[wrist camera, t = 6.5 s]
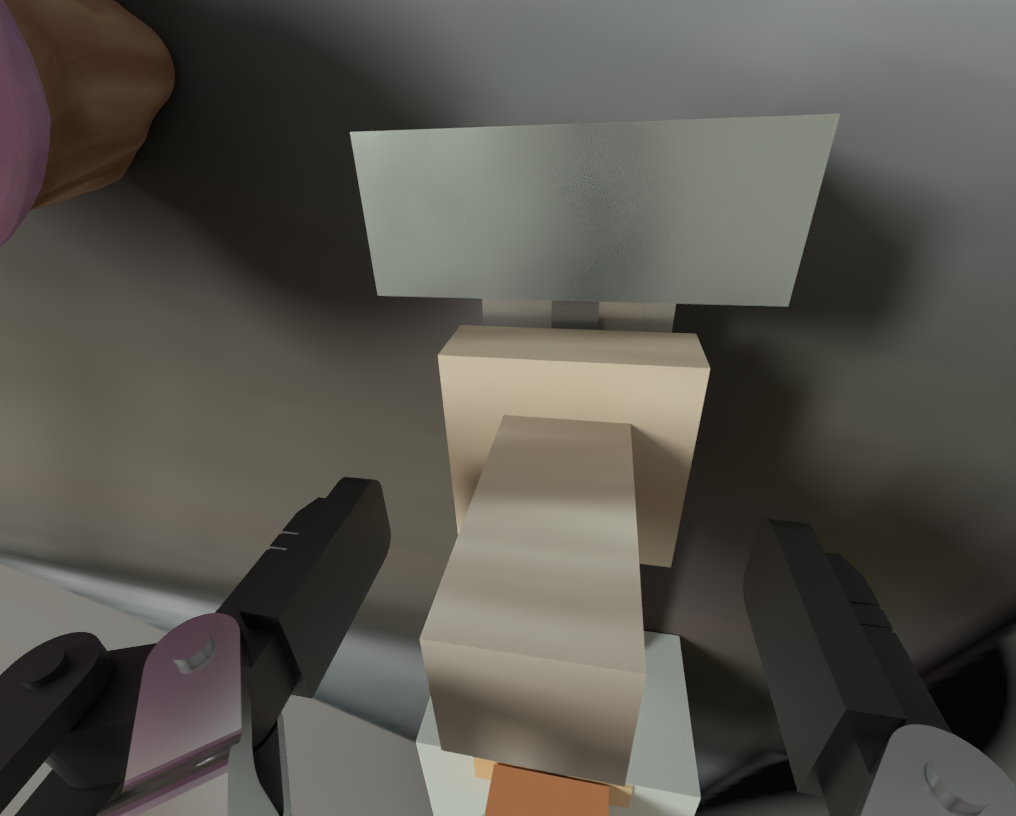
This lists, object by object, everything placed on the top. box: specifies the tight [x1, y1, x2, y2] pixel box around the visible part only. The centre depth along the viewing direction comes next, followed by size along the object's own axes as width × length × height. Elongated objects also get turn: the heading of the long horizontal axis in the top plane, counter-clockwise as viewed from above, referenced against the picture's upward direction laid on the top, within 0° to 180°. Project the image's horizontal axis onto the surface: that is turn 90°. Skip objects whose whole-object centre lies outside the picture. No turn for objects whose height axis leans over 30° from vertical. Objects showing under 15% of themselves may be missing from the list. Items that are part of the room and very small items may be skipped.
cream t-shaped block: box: [420, 325, 710, 787], centre depth 10 cm, size 6×6×8 cm
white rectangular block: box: [416, 631, 701, 816], centre depth 21 cm, size 6×10×6 cm, turn 91°
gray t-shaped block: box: [350, 114, 840, 333], centre depth 15 cm, size 19×8×5 cm, turn 1°
